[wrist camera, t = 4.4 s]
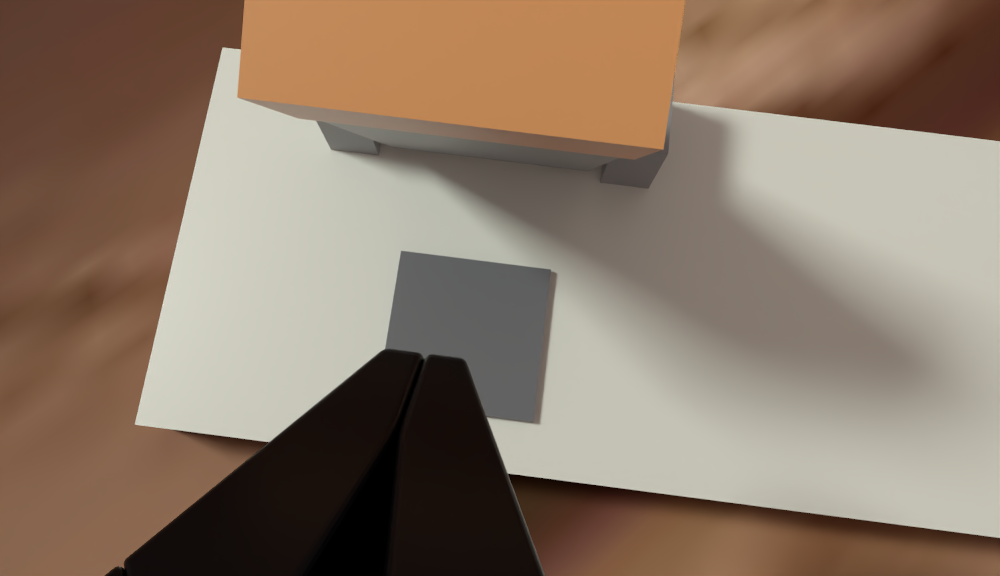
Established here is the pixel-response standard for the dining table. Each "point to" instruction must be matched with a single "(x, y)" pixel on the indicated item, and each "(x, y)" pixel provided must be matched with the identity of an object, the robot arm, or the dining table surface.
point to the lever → (472, 73)
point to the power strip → (616, 303)
